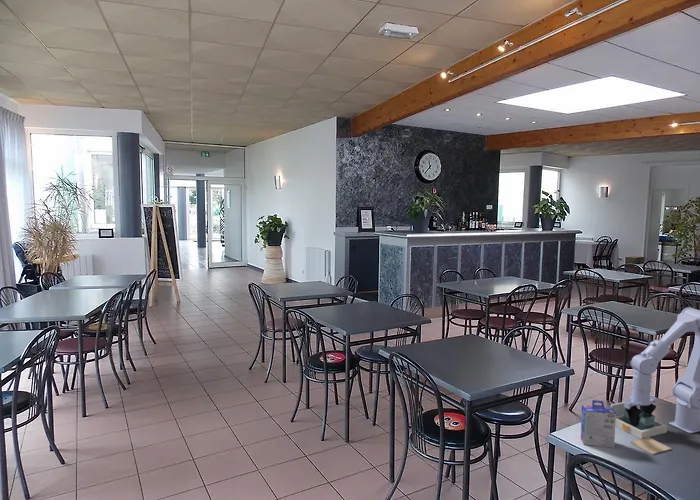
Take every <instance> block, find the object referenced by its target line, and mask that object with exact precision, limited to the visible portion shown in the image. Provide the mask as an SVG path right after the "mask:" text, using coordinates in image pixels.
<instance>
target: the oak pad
mask: <svg viewBox="0 0 700 500" xmlns="http://www.w3.org/2000/svg"><path fill="white" fill-rule="evenodd" d="M630 444H631V445H633V446H635V447H637V448H638V449H641V450H643V451H645V452H647V453H649V454H650V455H656V454H657V455H658V454H660V453H664V452H667V451H672V449H673V448H672V447H670V446H668V445H666V444H664V443H661V442H660V441H658V440H655V439H654V438H652V437H647V438H644V439H640V438H639V439H638V440H633V441H630Z"/></svg>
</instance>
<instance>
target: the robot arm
mask: <svg viewBox="0 0 700 500" xmlns="http://www.w3.org/2000/svg"><path fill="white" fill-rule="evenodd" d="M692 332H693V333H694V334H695V335H696V337H695V340H694V344H693V347H692V350H691V354H690V356H689V360H688V363H687V366H686V370H685V372H684V373H685V374H684V375H683V376H680V377H678V378H677V381H676V383H675V384H674V385H673V387H672V389H671V391H672V394H673V396H674V397H675V400H676V402H675V403H676V404H675V417H674V421H670V422H668V425H670V426H673V427H675V428H676V429H679V430H682V431H684V432H686V433H688V434H695V433H699V432H700V309H696V308H693V307H692V306H688V307H685V308H683V310H682V311H681V312H680V313H678V314H677V318H676V321H675V322H674V323H673V324H672V325H671V327H670V328H669V329H668V330H667V331H666V332H665V334H664V335H663V336H662V337H661V338H659V339H654V340H653V341H651V342H650V343H649V345H648V346H647V347H646V348H645V349H644V350H643V351H641V352H640V353H639V354H636V355H634V356H632V358H631V360H629V364H630V366H631V368H632V387H631V388H632V389H631V395H629V396H628V399H627V400H625V401H623V402H624V407H625V409H626V411H627V413H628V416H629V420H630V424H631V425H633V426H637V424H638V418H639V415H640V413H641V412H642V410H643V411H645V412H647V413H649V414H652V413H654V411H655V410H656V409H657V405H655V404H656V403H657V400H658V397H655V396H653V395H651V392H652V391H651V390H652V377H653V374H654V373H655V372H656V371H657V368H658V365H659V362H660V361H662V360H663V358H665V357H666V356H667V354H669V352H670V346H671V345H673V344H674V343H675V342H677V341H678V340H679V339H680V338H681V337H682V336H683V335H685V334H686V333H692ZM639 409H640V410H639ZM652 415H653V414H652Z"/></svg>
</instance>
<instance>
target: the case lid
mask: <svg viewBox="0 0 700 500" xmlns="http://www.w3.org/2000/svg"><path fill="white" fill-rule="evenodd" d="M624 402H625V401H623V402H622V401H621V402H616V403H612V404H610V406H609V407H611V408H612V409H613V410H614V411H615V413H616V416H620V415H624V414H625V407H624Z"/></svg>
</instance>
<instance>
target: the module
mask: <svg viewBox="0 0 700 500" xmlns="http://www.w3.org/2000/svg"><path fill="white" fill-rule="evenodd" d="M638 409H639V410H640V408H638ZM655 418H656V415H654V414H649V413H647V412H645V411H643V410H642V412H641V413H640V415H639V418H638V424H637V426H633V425H631V424H630V420H629V416H628V413H627V411H626V409H625V415H624V422H625V423H627V424H629V425H631V426H633V427H635V428H637V429H639V430H645V429H649V428H653V427H654V423H655V420H656V419H655Z"/></svg>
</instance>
